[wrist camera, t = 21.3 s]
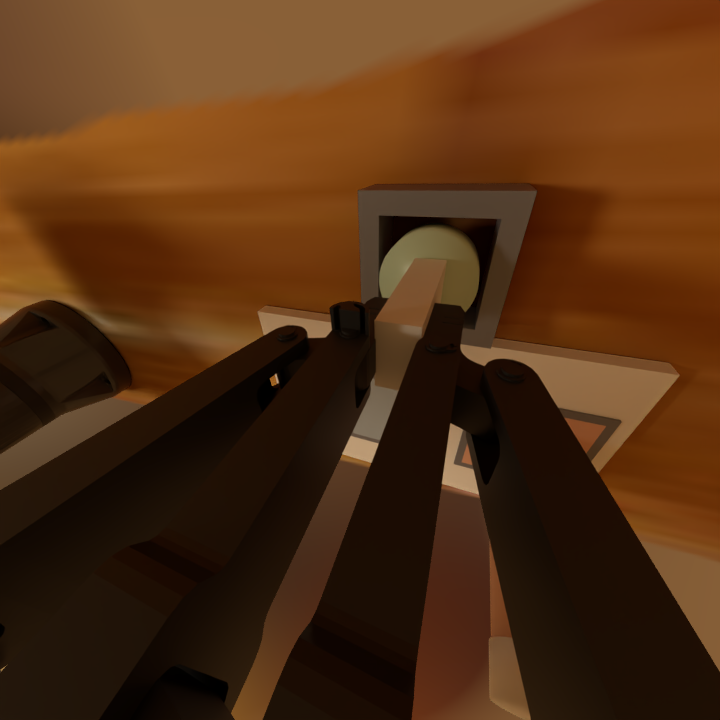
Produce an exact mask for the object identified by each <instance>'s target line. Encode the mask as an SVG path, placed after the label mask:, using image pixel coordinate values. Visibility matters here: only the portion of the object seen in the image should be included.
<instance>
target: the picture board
mask: <svg viewBox="0 0 720 720" xmlns="http://www.w3.org/2000/svg"><path fill="white" fill-rule="evenodd" d="M257 312H258V316H259V319H260V323H261V327H262V330H263V334H264V335H266V334H268V333H269V332H271V331H273V330H275V329H277V328H279V327H283V326H286V325H296V326H301V327H303V328H305V329H306V331H307V334H308V338H324V337H326V336H327V335H328V334H329V333H330V332H331V330H332V326H331V316H330V314H323V313H316V312H309V311H302V310H295V309H288V308H281V307H273V306H264V307H263V308H261V309H260V310H259V311H257ZM460 348H461V351H462V353H463V354H464V355H465V356H466V357H467V358H468V359H470V360H471V361H473V362H476V363H478V364H481V365H483V366H485V365H486V364H487V363H488V362H489V361H491V360H494V359H503V358H504V359H511V360H516V361H519V362H521V363H524V364H526V365H527V366H529V367H531V368H532V369H533V370H534V371H535V372H536V373H537V374H538V376H539V377H540V379H541V381H542V382H543V384H544V386H545V387H546V389H547V390H548V392H549V394H550V395H551V397H552V399H553V400H554V402H555V403H556V405H557V407H558V408H559V410H560V412H561V413H562V415H563V417H564V418H565V420H566V421H567V423H568V425H569V426H570V428H571V430H572V431H573V433H574V435H575V436H576V438H577V439H578V441H579V443H580V444H581V446H582V448H583V449H584V451H585V453H586V454H587V456H588V457H589V459H590V461H591V462H592V464H593V466H594V467H595V469H596V471H597V472H598V473H599V472H600V470H601V469H602V468H603V467H604V466H605V464H606V463H607V462H608V461H609V460H610V458H611V457H612V456H613V455H614V454H615V452H616V451H617V450H618V449H619V448H620V446H621V445H622V444H623V443H624V442H625V441H626V439H627V438H628V437H629V436H630V435H631V433H632V432H633V431H634V430H635V429H636V427H637V426H638V425H639V424H640V423H641V421H642V420H643V419H644V418H645V417H646V415H647V414H648V413H649V412H650V411H651V409H652V408H653V407H654V406H655V405H656V403H657V402H658V401H659V400H660V399H661V398H662V396H663V395H664V394H665V393H666V392H667V390H668V389H669V388H670V387H671V386H672V384H673V383H674V382H675V381H676V380H677V378H678V377H679V376H680V375H679V374H678V372H677V371H676V370H675V369H674V368H673V366H672V365H671V364H670V363H667V362H660V361H653V360H646V359H639V358H632V357H625V356H618V355H611V354H604V353H597V352H590V351H583V350H576V349H568V348H561V347H554V346H547V345H540V344H533V343H526V342H519V341H512V340H505V339H498V338H494V340H493V343H492V346H491V349H489V348H482V347H476V346H469V345H463V344H461V345H460ZM275 377H276V381H277V384H278V383H279V381H278V377H277V374H275ZM397 393H398V390H393V389H389V388H384V387H379V386H375V375H374V377H373V379H372V381H371V392H370V396H369V398H368V400H367V402H366V405H365V407H364V409H363V411H362V413H361V415H360V417H359V419H358V421H357V424H356V426H355V428H354V430H353V432H352V434H351V436H350V438H349V441H348V443H347V445H346V447H345V449H344V451H343V453H342V454H343V455H347V456H350V457H353V458H357V459H360V460H364V461H367V462H370V463H372V460H373V458H374V455H375V452H376V450H377V447H378V444H379V442H380V439H381V436H382V433H383V431H384V428H385V425H386V423H387V420H388V417H389V415H390V412H391V409H392V407H393V404H394V401H395V399H396V396H397ZM442 484H445V485H448V486H452V487H455V488H458V489H462V490H465V491H468V492H472V493H475V494H479V492H478V487H477V483H476V479H475V474H474V470H473V465H472V461H471V457H470V452H469V448H468V444H467V439H466V431H465V430H463V429H461V428H459V427H457V426H455V425H453V424H451V423H450V430H449V437H448V444H447V451H446V458H445V465H444V472H443V479H442Z"/></svg>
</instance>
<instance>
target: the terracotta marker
mask: <svg viewBox="0 0 720 720" xmlns="http://www.w3.org/2000/svg"><path fill="white" fill-rule="evenodd" d="M490 593H491V594H490V597H491V638H490V639H489V676H490V677H489V679H490V680H489V681H490V682H489V686H490V700H491V701H492V702H494V703H495V704H496V705H498V706H499V707H501V708H503V709H504V710H506V711H508V712H510V713H512V714H514V715H515V716H517V717H519V718H521V719H523V720H531V717H530V713H529V709H528V704H527V700H526V696H525V691H524V687H523V683H522V678H521V674H520V670H519V665H518V661H517V657H516V652H515V648H514V644H513V639H512V635H511V631H510V626H509V622H508V618H507V613H506V609H505V605H504V600H503V596H502V591H501V587H500V583H499V578H498V574H497V570H496V565H495V561H494V557H493V552H492V548H491V544H490Z"/></svg>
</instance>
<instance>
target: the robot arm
mask: <svg viewBox="0 0 720 720" xmlns="http://www.w3.org/2000/svg"><path fill="white" fill-rule="evenodd" d="M446 263H447V260H439V259H425V258H415V259H414V261H413V262H412V264H411V265H410V267H409V268H408V270H407V271H406V273H405V274H404V276H403V277H402V279H401V281H400V282H399V284H398V285H397V287H396V288H395V290H394V291H393V293H392V294H391V296H390V297H389V298H383V297H374V298H372V299H370V300H368V301H367V302H366V303H365V304H363V303H360V302H354V301H347V302H340V303H337V304H334V305H333V306H331V307H330V316H331V326H332V330H331V332H330V333H329V334H328V335H327V336H326V337H324V338H308V334H307V331H306V329H305V328H303V327H301V326H296V325H286V326H283V327H279V328H277V329H275V330H273V331H271V332H269V333H268V334H266V335H264V336H263V337H261V338H259V339H257V340H256V341H254V342H252V343H251V344H249V345H247V346H245V347H244V348H242V349H240V350H239V351H237V352H235V353H234V354H232V355H230V356H228V357H227V358H225V359H223V360H222V361H220V362H218V363H216V364H215V365H213V366H211V367H210V368H208V369H206V370H205V371H203V372H201V373H199V374H198V375H196V376H194V377H193V378H191V379H189V380H187V381H186V382H184V383H182V384H181V385H179V386H177V387H176V388H174V389H172V390H170V391H169V392H167V393H165V394H164V395H162V396H160V397H158V398H157V399H155V400H153V401H152V402H150V403H148V404H147V405H145V406H143V407H141V408H140V409H138V410H136V411H135V412H133V413H131V414H130V415H128V416H126V417H124V418H123V419H121V420H119V421H118V422H116V423H114V424H112V425H111V426H109V427H107V428H106V429H104V430H102V431H100V432H99V433H97V434H95V435H94V436H92V437H90V438H89V439H87V440H85V441H83V442H82V443H80V444H78V445H77V446H75V447H73V448H72V449H70V450H68V451H66V452H65V453H63V454H61V455H60V456H58V457H56V458H54V459H53V460H51V461H49V462H48V463H46V464H44V465H42V466H41V467H39V468H37V469H36V470H34V471H32V472H31V473H29V474H27V475H25V476H24V477H22V478H20V479H19V480H17V481H15V482H13V483H12V484H10V485H8V486H7V487H5V488H3V489H2V490H0V669H2V668H3V667H5V666H6V665H7V666H6V667H5V668H4V669H3V670H2V671H1V670H0V720H235V719H234V718H233V716H232V715H231V712H232V709H233V707H234V705H235V703H236V701H237V698H238V696H239V694H240V692H241V689H242V687H243V685H244V683H245V681H246V679H247V676H248V674H249V672H250V670H251V668H252V665H253V663H254V660H255V658H256V655H257V653H258V650H259V647H260V643H261V640H262V635H263V628H264V622H265V619H266V616H267V613H268V611H269V608H270V606H271V604H272V602H273V599H274V598H275V595H276V593H277V591H278V589H279V587H280V585H281V583H282V581H283V578H284V576H285V574H286V572H287V570H288V568H289V565H290V563H291V561H292V559H293V557H294V555H295V553H296V551H297V549H298V547H299V544H300V542H301V540H302V538H303V536H304V534H305V532H306V530H307V528H308V525H309V523H310V521H311V519H312V517H313V515H314V513H315V510H316V508H317V506H318V504H319V502H320V500H321V498H322V495H323V494H324V491H325V489H326V487H327V485H328V483H329V481H330V479H331V477H332V474H333V472H334V470H335V468H336V466H337V464H338V462H339V460H340V458H341V455H342V453H343V451H344V449H345V447H346V445H347V443H348V441H349V438H350V436H351V434H352V432H353V430H354V428H355V426H356V424H357V421H358V419H359V417H360V415H361V413H362V411H363V409H364V407H365V405H366V402H367V400H368V398H369V396H370V392H371V381H372V379H373V377H374V375H375V386H379V387H384V388H389V389H393V390H398V393H397V396H396V399H395V401H394V404H393V407H392V409H391V412H390V415H389V417H388V420H387V423H386V425H385V428H384V431H383V433H382V436H381V439H380V442H379V444H378V447H377V450H376V452H375V455H374V458H373V460H372V463H371V466H370V468H369V471H368V474H367V476H366V479H365V482H364V485H363V487H362V490H361V493H360V495H359V498H358V501H357V503H356V506H355V509H354V511H353V514H352V517H351V519H350V522H349V525H348V527H347V530H346V533H345V535H344V538H343V541H342V544H341V546H340V549H339V552H338V554H337V557H336V560H335V562H334V565H333V568H332V571H331V573H330V576H329V578H328V581H327V584H326V586H325V589H324V592H323V594H322V597H321V600H320V602H319V605H318V607H317V610H316V612H315V614H314V616H313V618H312V620H311V622H310V623H309V624H308V626H307V627H306V628H305V630H304V631H303V632H302V634H301V635H300V636H299V638H298V640H297V642H296V643H295V645H294V648H293V649H292V651H291V653H290V655H289V657H288V659H287V662H286V664H285V666H284V668H283V671H282V673H281V676H280V678H279V680H278V682H277V685H276V687H275V690H274V692H273V695H272V698H271V700H270V703H269V705H268V708H267V710H266V713H265V716H264V718H263V720H411V718H412V709H413V700H414V683H415V671H416V662H417V655H418V647H419V640H420V633H421V626H422V619H423V612H424V604H425V598H426V591H427V583H428V577H429V570H430V563H431V556H432V549H433V541H434V535H435V527H436V521H437V514H438V506H439V500H440V493H441V486H442V479H443V472H444V465H445V458H446V451H447V444H448V437H449V430H450V423H451V424H453V425H455V426H457V427H459V428H461V429H463V430H465V431H466V439H467V444H468V448H469V452H470V457H471V461H472V465H473V470H474V474H475V479H476V483H477V487H478V492H479V496H480V500H481V505H482V509H483V513H484V518H485V522H486V526H487V531H488V535H489V539H490V544H491V548H492V552H493V557H494V561H495V565H496V570H497V574H498V578H499V583H500V587H501V591H502V596H503V600H504V605H505V609H506V613H507V618H508V622H509V626H510V631H511V635H512V639H513V644H514V648H515V652H516V657H517V661H518V665H519V670H520V674H521V678H522V683H523V687H524V691H525V696H526V700H527V704H528V709H529V713H530V717H531V720H720V672H719V670H718V668H717V667H716V665H715V664H714V662H713V660H712V659H711V657H710V655H709V654H708V652H707V650H706V649H705V647H704V645H703V644H702V642H701V640H700V639H699V637H698V636H697V634H696V632H695V631H694V629H693V628H692V626H691V624H690V623H689V621H688V619H687V618H686V616H685V614H684V613H683V611H682V610H681V608H680V606H679V605H678V603H677V601H676V600H675V598H674V596H673V595H672V593H671V591H670V590H669V588H668V587H667V585H666V583H665V582H664V580H663V578H662V577H661V575H660V573H659V572H658V570H657V569H656V567H655V565H654V564H653V562H652V561H651V559H650V557H649V555H648V554H647V552H646V551H645V549H644V547H643V546H642V544H641V542H640V541H639V539H638V538H637V536H636V534H635V533H634V531H633V529H632V528H631V526H630V524H629V523H628V521H627V520H626V518H625V516H624V515H623V513H622V511H621V510H620V508H619V506H618V505H617V503H616V502H615V500H614V498H613V497H612V495H611V493H610V492H609V490H608V488H607V487H606V485H605V484H604V482H603V480H602V479H601V477H600V475H599V474H598V472H597V471H596V469H595V467H594V466H593V464H592V462H591V461H590V459H589V457H588V456H587V454H586V453H585V451H584V449H583V448H582V446H581V444H580V443H579V441H578V439H577V438H576V436H575V435H574V433H573V431H572V430H571V428H570V426H569V425H568V423H567V421H566V420H565V418H564V417H563V415H562V413H561V412H560V410H559V408H558V407H557V405H556V403H555V402H554V400H553V399H552V397H551V395H550V394H549V392H548V390H547V389H546V387H545V386H544V384H543V382H542V381H541V379H540V377H539V376H538V374H537V373H536V372H535V371H534V370H533V369H532V368H531V367H529V366H527V365H526V364H524V363H521V362H519V361H516V360H511V359H504V358H503V359H494V360H491V361H489V362H488V363H487V364H486V365H485V366H483V365H481V364H478V363H476V362H473V361H471V360H470V359H468V358H467V357H466V356H465V355H464V354H463V353H462V351H461V348H460V345H461V338H462V331H463V324H464V317H465V311H464V310H463V309H462V307H461V306H458V305H450V304H441V297H442V290H443V283H444V277H445V270H446ZM275 374H277V377H278V381H279V383H278V384H276V385H274V386H272V385H271V382H270V379H269V378H271V377H272V376H273V375H275ZM130 384H131V376H130V373H129V370H128V368H127V366H126V364H125V362H124V361H123V359H122V358H121V356H120V355H119V353H118V352H117V351H116V350H115V348H114V347H113V346H112V345H111V344H110V342H109V341H108V340H107V339H106V338H105V337H104V336H103V335H102V334H101V333H100V332H99V331H98V330H97V329H96V328H94V327H93V326H92V325H91V324H90V323H89V322H87V321H86V320H85V319H84V318H82V317H81V316H79V315H78V314H77V313H75V312H73V311H72V310H70V309H69V308H67V307H65V306H63V305H61V304H58V303H56V302H53V301H47V300H45V301H40V302H38V303H35V304H32V305H29V306H26V307H24V308H22V309H20V310H19V311H17V312H16V313H15V314H13V315H12V316H11V317H9V318H8V319H7V320H5V321H4V322H3V323H2V324H0V454H2V453H3V452H5V451H6V450H8V449H9V448H11V447H12V446H14V445H15V444H17V443H19V442H20V441H22V440H23V439H25V438H26V437H28V436H29V435H31V434H33V433H34V432H36V431H37V430H39V429H40V428H42V427H43V426H45V425H47V424H48V423H49V422H51V421H53V420H54V419H56V418H58V417H59V416H61V415H63V414H65V413H68V412H71V411H74V410H77V409H80V408H82V407H85V406H88V405H91V404H94V403H97V402H100V401H102V400H105V399H108V398H111V397H114V396H116V395H117V394H119V393H120V392H122V391H123V390H125V389H126V388H128V387H129V386H130Z"/></svg>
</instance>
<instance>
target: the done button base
mask: <svg viewBox="0 0 720 720" xmlns="http://www.w3.org/2000/svg"><path fill="white" fill-rule="evenodd" d="M536 194H537V190H536V189H535V188H534V187H533V186H532V185H530V184H375V185H372V186H369V187H366V188H363V189H360V190H358V212H359V242H360V273H361V303H363V304H365V303H366V302H367V301H368V300H370V299H372V298H374V297H382V295H381V292H380V286H379V274H380V269H381V265H382V263H383V260H384V258H385V256H386V255H387V253H388V252H389V251H390V250H391V248H392V231H393V216H417V217H452V218H486V219H497V221H496V225H495V230H494V234H493V238H492V242H491V247H490V251H489V255H488V260H487V264H486V268H485V272H484V277H483V281H482V285H481V290H480V294H479V298H478V302H477V307H469V309H468V310H467V311H466V312H465V317H464V324H463V331H462V338H461V344H463V345H469V346H476V347H482V348H489V349H491V346H492V343H493V340H494V336H495V333H496V329H497V326H498V323H499V319H500V316H501V312H502V309H503V306H504V302H505V299H506V296H507V292H508V289H509V285H510V282H511V279H512V275H513V272H514V268H515V265H516V262H517V258H518V255H519V251H520V248H521V245H522V241H523V238H524V235H525V231H526V228H527V224H528V221H529V218H530V214H531V211H532V207H533V204H534V201H535V197H536Z"/></svg>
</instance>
